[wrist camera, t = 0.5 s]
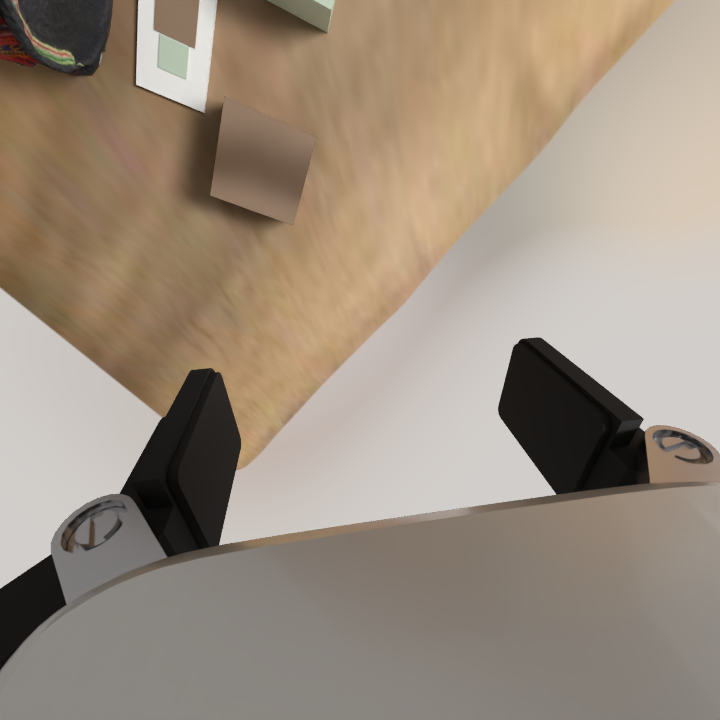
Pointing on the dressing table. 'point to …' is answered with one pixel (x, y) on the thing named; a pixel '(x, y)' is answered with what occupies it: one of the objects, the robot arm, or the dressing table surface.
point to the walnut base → (260, 162)
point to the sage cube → (309, 10)
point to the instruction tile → (176, 48)
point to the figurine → (55, 33)
